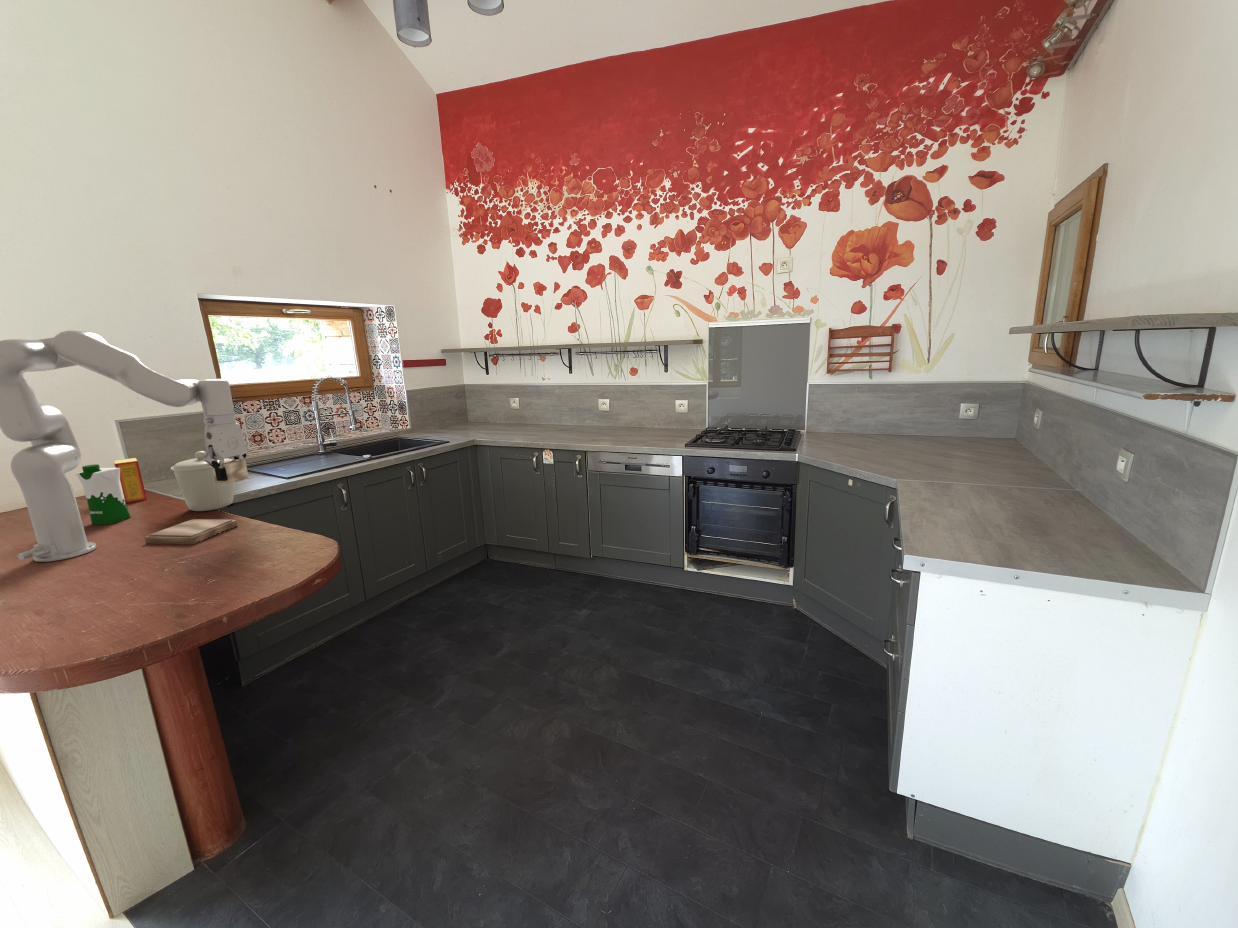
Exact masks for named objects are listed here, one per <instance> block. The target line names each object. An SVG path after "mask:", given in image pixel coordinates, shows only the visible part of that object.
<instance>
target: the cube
mask: <svg viewBox="0 0 1238 928" xmlns="http://www.w3.org/2000/svg"><path fill="white" fill-rule="evenodd" d="M218 463H219V462H218ZM247 467H248V466H247V461H246V459H245V460H224V466H223V468H225V469H226V474H227V481H217V479H216V474H215V469H214V468H212V469H213V474H214V479H215V483H233V484H235V483H237V482H241V481H244V480H247V479H249V472H248V468H247Z"/></svg>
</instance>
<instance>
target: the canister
mask: <svg viewBox="0 0 1238 928" xmlns="http://www.w3.org/2000/svg"><path fill="white" fill-rule="evenodd" d="M206 453H207V451H205V450H199V451H196V452H195V453H194V457H195V458H190V459H187V460H182V461H179V462H177V463H175V464H174V465H173V466H171V467H170V470H171V471H172V472H173V473H174V477H175V479H176V482H177V484H178V488H179V490H180V492H181V494H182V497H183V499H184V502H185V504H186V506H187V508H188V509H190V511H193V512H194V511H195V512H207V511H208V512H209V511H215V510H218V509H222V508H226V507H228V506H230V505H231V504H232V503H233V501H234V499H235V497H234V496H235V495H234V494H235V492H234V491H235V490H234V488H235V487H234V483H215V479H214V474H213V469H212V466H210V465H209V464H208V463H207V462H205V461H204V460H203V458H204V456H205V454H206ZM224 460H233V458H227V459H224ZM218 462H219V460H218Z"/></svg>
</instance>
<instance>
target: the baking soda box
mask: <svg viewBox="0 0 1238 928" xmlns="http://www.w3.org/2000/svg"><path fill="white" fill-rule="evenodd" d="M138 461H139V460H138V459H137V458H136V457H132V458H125V459H124V458H123V459H117V460H116V459H115V460H113V461H112V462H113V466H114V468H120V482H121V486H122V490H123V494H124V498H125V502H126V504H130V503H136V502H142V501H147V500H148V497H147V494H146V489H145V486H144V482H143V478H142V474H141V469H140V465H139V462H138Z"/></svg>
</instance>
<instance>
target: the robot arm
mask: <svg viewBox="0 0 1238 928" xmlns="http://www.w3.org/2000/svg"><path fill="white" fill-rule="evenodd" d="M75 366H79V367H81V368H85V369H86V370H89V371H91V372H93V373H97V374H98V375H101V376H104V377H106V378H108V379H111V380H113V381H116V382H118V383H119V384H121V385H122V386H123V387H126V388H128V389H129V390H130V391H133V392H135V393H137V394H138V395H141V396H142V397H145V398H147V399H151V400H152V401H155V402H157V403H160V404H162V405H165V406H169V407H173V408H182V407H183V408H184V407H187V406H191V405H192V406H193V405H195V404H200V403H201V407H202V412H203V420H202V422H203V423H204V424H205V427H204V443H205V449H206V454H205V456H204V458H203V460H204V461H205V462H207V463H208V464H209V465H210V466H212V468H214V469H215V474H216V479H217V481H227V474H226V469H225V468H223V466H224V459H227V458H229V459H233V460H245V461H246V458H247V454H249V453H248V452H249V451H250V448H249V447H248V446H247V443H246V441H245V436H244V434H243V433H244V432H243V430H242V428H241V426H240V423H239V422H237V419H236V414H235V408H234V403H233V397H232V391H231V386H230V383H229V381H228V380H226V379H225V378H210V379H202V380H201V379H200V380H198V379H177V380H175V379H173V378H171V377H168V376H166V375H163V374H161V373H158V372H157V371H155V370H152V369H150V368H149V367H147V366H146V365H144V364H143V363H142V362H141V361H140V359H139V358H138V356H137V355H134V354H132V353H130V352H129V351H125V350H123V349H122V348H118V347H116V346H114V345H111V344H109V343H108V342H107V341H106V340H105V339H104V338H103V336H101V335H99V334H97V333H94V332H91V331H84V330H65V331H61V332H59V333H57V334H56V335H55V336H53V337H49V338H40V339H22V338H21V339H20V338H17V339H15V338H14V339H11V338H10V339H2V340H0V430H1V432H2V434H3V435H5V437H6V438H8V439H9V440H10V441H14V442H19V443H22V442H23V443H26V442H30V443H31V446H28V447H25V448H23V449H21V450H19V451H17V453H15V454H14V456H13V457H12V458H11V461H10V471H11V473H12V475H13V477H14V478H15V480H16V482H17V483H18V485H19V488H20V491H21V492H22V495H23V498H24V501H25V502H24V503H25V505H26V507H27V511H28V515H29V518H30V520H31V521H30V522H31V525H32V528H33V531H34V535H35V538H36V539H35V540H36V542H37V543H35V544H33V547H32V548H31V549H30V550H26V551H24V552H21V553H20V552H19V553H18V554H17V558H18V560H20V561H24V560H27V559H30V558H33V561H35V562H40V563H47V562H56V561H61V560H66V559H70V558H75V557H79V556H81V555H85V554H87V553H90V552H92V551H94V550H95V549H96V548H97V544H96V542H93V541H92V542H91V541H88V539H87V536H86V535H87V534H86V532H85V528H84V524H83V520H82V517H81V513H80V509H79V506H78V501H77V498H76V496H75V492H74V489H73V486H72V484H71V483H70V481H69V479H68V478H67V476H66V473H69V472H71V471H73V470H74V469H76V468H78V466H79V465H80V463H81V460H82V454H81V453H82V452H81V451H80V448H79V444H78V442H77V440H76V437H75V434H74V432H73V430H72V427H71V426H70V423H69V421H68V419H67V417H66V416H65V414H64V413H62V411H60V410H59V409H58V408H56V407H54V406H52V405H49V404H44V403H43V404H42V403H39V402H38V399H37V397H36V394H35V391H34V390H33V388H32V386H31V385H30V383H29V382H28V381H27V379H25V377H24V375H23V374H25V373H29V372H31V373H32V372H45V371H46V372H47V371H54V370H58V369H63V368H70V367H75ZM218 460H219V463H218Z"/></svg>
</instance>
